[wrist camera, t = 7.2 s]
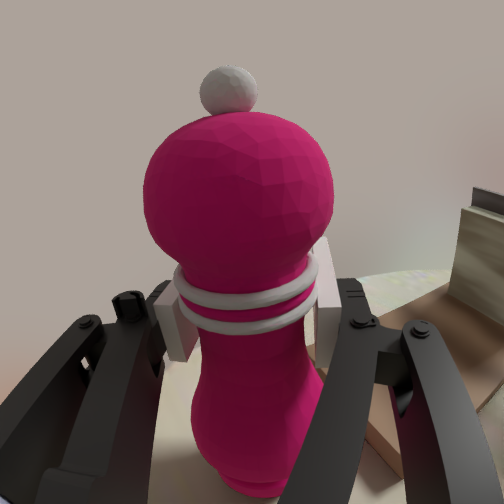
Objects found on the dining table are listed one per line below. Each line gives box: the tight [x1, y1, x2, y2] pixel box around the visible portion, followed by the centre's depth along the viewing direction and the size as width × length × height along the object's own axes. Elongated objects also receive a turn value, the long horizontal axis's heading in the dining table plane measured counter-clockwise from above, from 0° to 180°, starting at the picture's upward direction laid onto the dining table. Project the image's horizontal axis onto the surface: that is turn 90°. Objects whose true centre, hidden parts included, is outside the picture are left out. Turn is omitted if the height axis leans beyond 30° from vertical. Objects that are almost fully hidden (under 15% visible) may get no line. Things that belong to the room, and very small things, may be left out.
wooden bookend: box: [306, 187, 504, 480], centre depth 20 cm, size 24×14×14 cm, turn 112°
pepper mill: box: [143, 65, 334, 498], centre depth 12 cm, size 7×7×20 cm
